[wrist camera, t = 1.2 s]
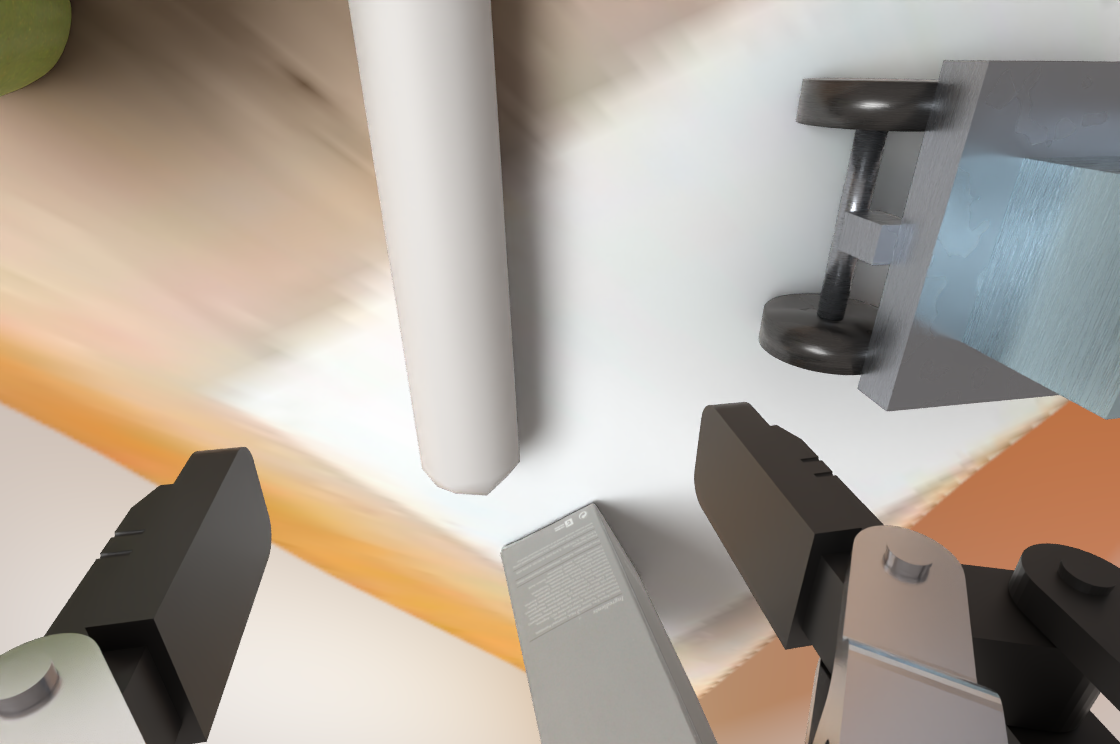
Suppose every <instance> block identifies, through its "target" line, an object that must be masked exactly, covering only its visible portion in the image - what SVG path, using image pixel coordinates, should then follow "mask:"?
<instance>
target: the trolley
mask: <svg viewBox="0 0 1120 744" xmlns="http://www.w3.org/2000/svg"><path fill="white" fill-rule="evenodd" d="M796 122H798V123H801V124H806V125H813V126H820V127H830V128H842V129H856V132H855V137H854V141H853V146H852V151H851V156H850V160H849V165H848V170H847V174H846V179H845V184H844V188H843V193H842V198H841V202H840V207H839V212H838V216H837V221H836V226H835V230H834V235H833V240H832V244H831V249H830V254H829V258H828V263H827V268H826V272H825V277H824V282H823V286H822V291H821V294H792V295H784V296H780V297H776V298H774V299H771V300H770V301H768V302H767V303H766V304H765V306H764V310H763V316H762V322H761V328H760V333H759V343H760V345H761V346H762V348H763V349H764V350H765V351H767V352H768V353H769V354H770V355H772V356H774V357H775V358H777V359H779V360H781V361H783V362H786V363H788V364H791V365H794V366H797V367H800V368H803V369H807V370H811V371H816V372H822V373H828V374H838V375H861V377H860V381H859V385H858V389H859V390H860V391H861V392H862V393H864V394H865V395H866V396H868V397H869V398H870V399H871V400H873V401H874V402H875V403H876V404H878V405H879V406H880V407H882V408H883V409H884V410H885V411H896V410H907V409H917V408H928V407H938V406H949V405H959V404H970V403H980V402H991V401H1001V400H1012V399H1022V398H1033V397H1043V396H1054V395H1061V396H1063V397H1065V398H1067V399H1069V400H1070V401H1072V402H1074V403H1076V404H1078V405H1080V406H1082V407H1084V408H1085V409H1087V410H1089V411H1091V412H1093V413H1095V414H1096V415H1098V416H1100V417H1102V418H1104V419H1115V418H1120V62H1088V61H943V65H942V69H941V73H940V77H939V80H924V79H877V78H808V79H803V81H802V87H801V93H800V99H799V105H798V111H797V117H796ZM888 131H925V134H924V137H923V141H922V145H921V149H920V153H919V156H918V160H917V164H916V168H915V172H914V175H913V179H912V183H911V187H910V191H909V195H908V198H907V202H906V206H905V210H904V214H903V217H902V218H900V217H897V216H894V215H891V214H888V213H886V212H883V211H869V210H870V206H871V201H872V197H873V193H874V189H875V185H876V180H877V176H878V172H879V168H880V163H881V159H882V155H883V151H884V147H885V142H886V138H887V134H888ZM858 259H860V260H862V261H864V262H866V263H868V264H870V265H888V264H890V267H889V271H888V274H887V278H886V282H885V286H884V290H883V293H882V297H881V301H880V305H879V308H878V307H876V306H873V305H871V304H868V303H865V302H861V301H857V300H854V299H849V294H850V290H851V286H852V282H853V278H854V273H855V269H856V265H857V261H858Z"/></svg>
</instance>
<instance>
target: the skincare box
mask: <svg viewBox="0 0 1120 744" xmlns="http://www.w3.org/2000/svg"><path fill="white" fill-rule="evenodd" d="M500 554H501V558H502V563H503V567H504V571H505V576H506V581H507V585H508V590H509V595H510V599H511V604H512V608H513V613H514V618H515V622H516V627H517V632H518V637H519V641H520V646H521V650H522V655H523V660H524V664H525V669H526V673H527V678H528V683H529V687H530V692H531V696H532V701H533V706H534V711H535V715H536V720H537V724H538V729H539V734H540V739H541V744H717V741H716V739H715V737H714V735H713V732H712V730H711V728H710V725H709V723H708V721H707V719H706V716H705V714H704V712H703V710H702V707H701V705H700V703H699V701H698V698H697V696H696V694H695V692H694V690H693V688H692V686H691V683H690V681H689V679H688V677H687V675H686V673H685V671H684V669H683V667H682V664H681V662H680V660H679V658H678V656H677V654H676V652H675V650H674V648H673V646H672V643H671V641H670V639H669V637H668V635H667V633H666V631H665V629H664V627H663V625H662V623H661V621H660V619H659V617H658V614H657V612H656V610H655V608H654V606H653V604H652V602H651V600H650V598H649V596H648V594H647V592H646V590H645V587H644V585H643V583H642V580H641V578H640V577H639V575H638V573H637V571H636V569H635V567H634V566H633V564H632V562H631V561H630V559H629V558H628V556H627V554H626V553H625V551H624V549H623V548H622V546H621V544H620V543H619V541H618V540H617V538H616V536H615V535H614V533H613V531H612V530H611V528H610V527H609V525H608V523H607V522H606V520H605V518H604V517H603V515H602V513H601V512H600V510H599V509H598V507H597V506H596V505H595V504H590V505H588V506H586V507H584V508H582V509H580V510H578V511H576V512H574V513H572V514H570V515H568V516H566V517H565V518H563V519H561V520H559V521H557V522H555V523H553V524H551V525H549V526H547V527H545V528H543V529H541V530H539V531H537V532H535V533H533V534H531V535H529V536H527V537H525V538H523V539H521V540H519V541H516V542H514V543H512V544H509V545H507V546H505V547H503V548H502V550H501V553H500Z"/></svg>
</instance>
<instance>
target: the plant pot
mask: <svg viewBox="0 0 1120 744" xmlns="http://www.w3.org/2000/svg"><path fill="white" fill-rule="evenodd" d="M70 25H71V4H70V0H0V96H3V95H5V94H8V93H11V92H13V91H16V90H18V89H21V88H23V87H25V86H27V85H29V84H30V83H32V82H34V81H36V80H37V79H39V78H41V77H42V76H44V75H45V74H46V73H47V72H48V71H50V70H51V69H52V68H53V66H54V65H55V64H56V63H57V61H58V60H59V58H60V56H61V54H62V53H63V50H64V48H65V45H66V42H67V40H68V36H69V31H70Z"/></svg>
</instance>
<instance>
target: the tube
mask: <svg viewBox="0 0 1120 744" xmlns="http://www.w3.org/2000/svg"><path fill="white" fill-rule="evenodd" d="M348 3H349V9H350V16H351V22H352V28H353V35H354V41H355V47H356V54H357V60H358V66H359V73H360V79H361V85H362V92H363V98H364V104H365V110H366V117H367V123H368V129H369V136H370V142H371V148H372V155H373V161H374V167H375V174H376V180H377V186H378V193H379V199H380V205H381V212H382V218H383V224H384V231H385V237H386V243H387V250H388V256H389V262H390V269H391V275H392V281H393V288H394V294H395V300H396V307H397V313H398V319H399V326H400V332H401V338H402V344H403V351H404V357H405V363H406V370H407V376H408V382H409V389H410V395H411V401H412V408H413V414H414V420H415V427H416V433H417V439H418V446H419V452H420V458H421V465H422V469H423V470H424V471H425V473H426V474H427V475H428V476H429V477H430V478H431V480H432V481H433V482H434V483H435V484H436V485H437V486H438V487H440V488H442V489H445V490H448V491H451V492H453V493H456V494H472V495H488V494H489V493H490V492H491V491H492V490H493V489H494V488H495V487H496V486H497V485H498V484H500V483H501V482H502V481H503V480H504V479H505V478H506V477H507V476H508V475H509V474H510V473H511V471H512V470H513V469H514V468H515V467H516V465H517V464H518V463H519V462H520V454H519V438H518V423H517V407H516V391H515V375H514V360H513V344H512V328H511V313H510V297H509V281H508V266H507V250H506V234H505V218H504V203H503V187H502V171H501V156H500V140H499V124H498V108H497V93H496V77H495V61H494V46H493V30H492V14H491V0H348Z"/></svg>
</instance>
